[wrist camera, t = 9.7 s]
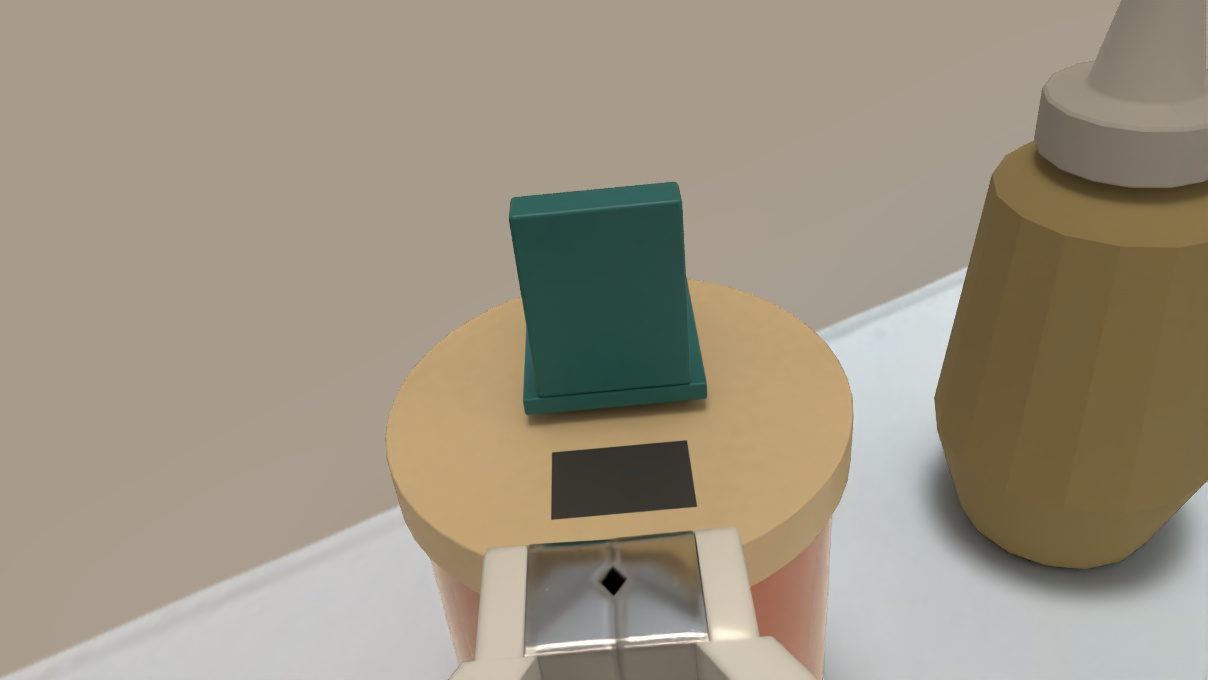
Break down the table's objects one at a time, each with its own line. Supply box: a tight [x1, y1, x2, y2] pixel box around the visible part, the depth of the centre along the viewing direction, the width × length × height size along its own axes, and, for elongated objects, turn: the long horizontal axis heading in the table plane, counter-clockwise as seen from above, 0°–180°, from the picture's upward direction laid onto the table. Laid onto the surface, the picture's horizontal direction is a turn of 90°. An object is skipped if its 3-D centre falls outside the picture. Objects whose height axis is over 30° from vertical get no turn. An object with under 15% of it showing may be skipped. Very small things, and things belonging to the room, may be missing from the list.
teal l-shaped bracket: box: [509, 182, 707, 415], centre depth 20 cm, size 4×4×4 cm
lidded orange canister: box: [430, 516, 832, 680], centre depth 25 cm, size 9×9×11 cm
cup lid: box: [385, 279, 853, 594], centre depth 21 cm, size 9×9×1 cm
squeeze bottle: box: [934, 0, 1208, 569], centre depth 29 cm, size 8×8×18 cm
